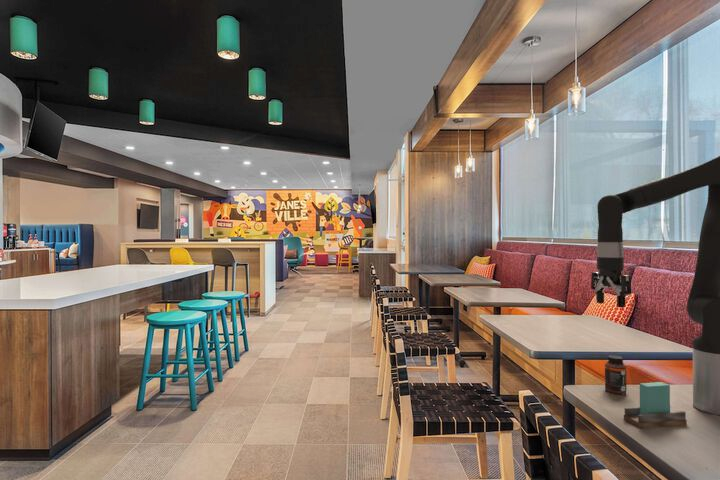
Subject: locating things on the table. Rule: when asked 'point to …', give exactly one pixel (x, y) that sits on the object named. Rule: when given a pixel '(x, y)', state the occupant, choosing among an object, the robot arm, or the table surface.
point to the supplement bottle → (615, 375)
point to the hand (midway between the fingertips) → (610, 305)
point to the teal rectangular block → (654, 398)
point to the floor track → (654, 418)
